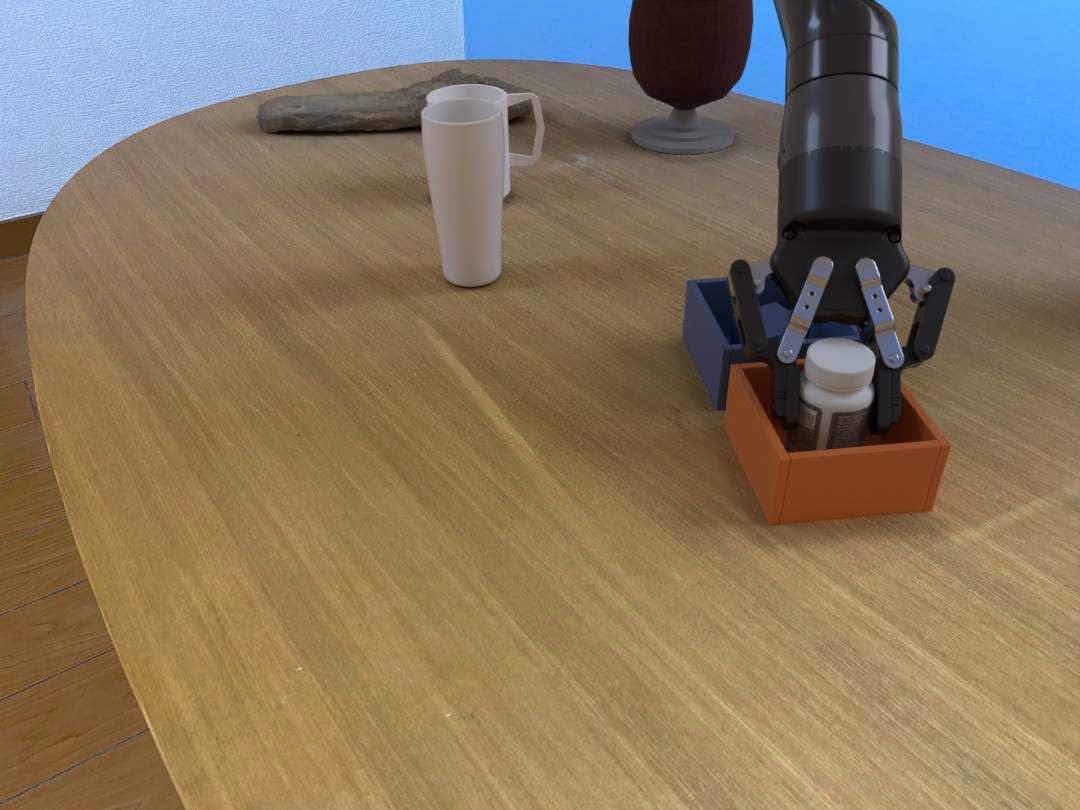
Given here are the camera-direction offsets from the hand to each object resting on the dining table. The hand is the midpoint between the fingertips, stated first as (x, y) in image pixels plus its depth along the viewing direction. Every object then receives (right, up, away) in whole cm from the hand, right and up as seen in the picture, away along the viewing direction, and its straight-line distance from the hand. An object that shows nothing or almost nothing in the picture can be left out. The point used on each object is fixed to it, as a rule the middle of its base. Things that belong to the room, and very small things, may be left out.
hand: (834, 429), depth 57 cm
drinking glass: (-24, +13, +28) cm, 39 cm away
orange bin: (0, -3, +4) cm, 5 cm away
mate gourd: (0, +34, +57) cm, 66 cm away
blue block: (-1, +4, +14) cm, 14 cm away
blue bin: (-1, +4, +14) cm, 14 cm away
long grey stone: (-36, +38, +63) cm, 82 cm away
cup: (-23, +25, +44) cm, 56 cm away
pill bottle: (0, -2, +4) cm, 5 cm away
